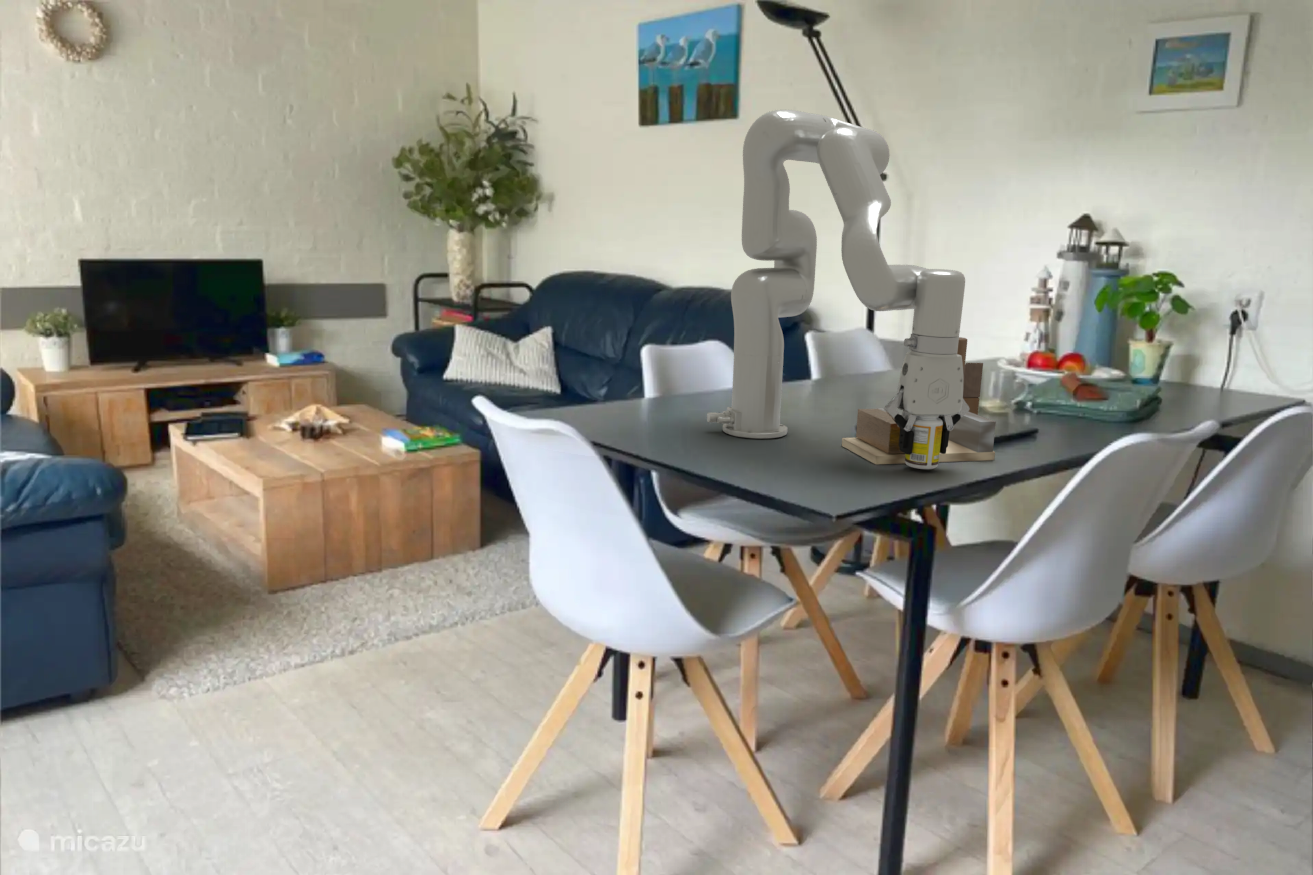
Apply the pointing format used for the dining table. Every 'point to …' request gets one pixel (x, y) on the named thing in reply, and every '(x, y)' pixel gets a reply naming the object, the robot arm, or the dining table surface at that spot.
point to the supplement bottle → (925, 443)
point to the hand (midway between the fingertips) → (922, 451)
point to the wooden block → (970, 378)
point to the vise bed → (965, 443)
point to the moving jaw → (878, 430)
